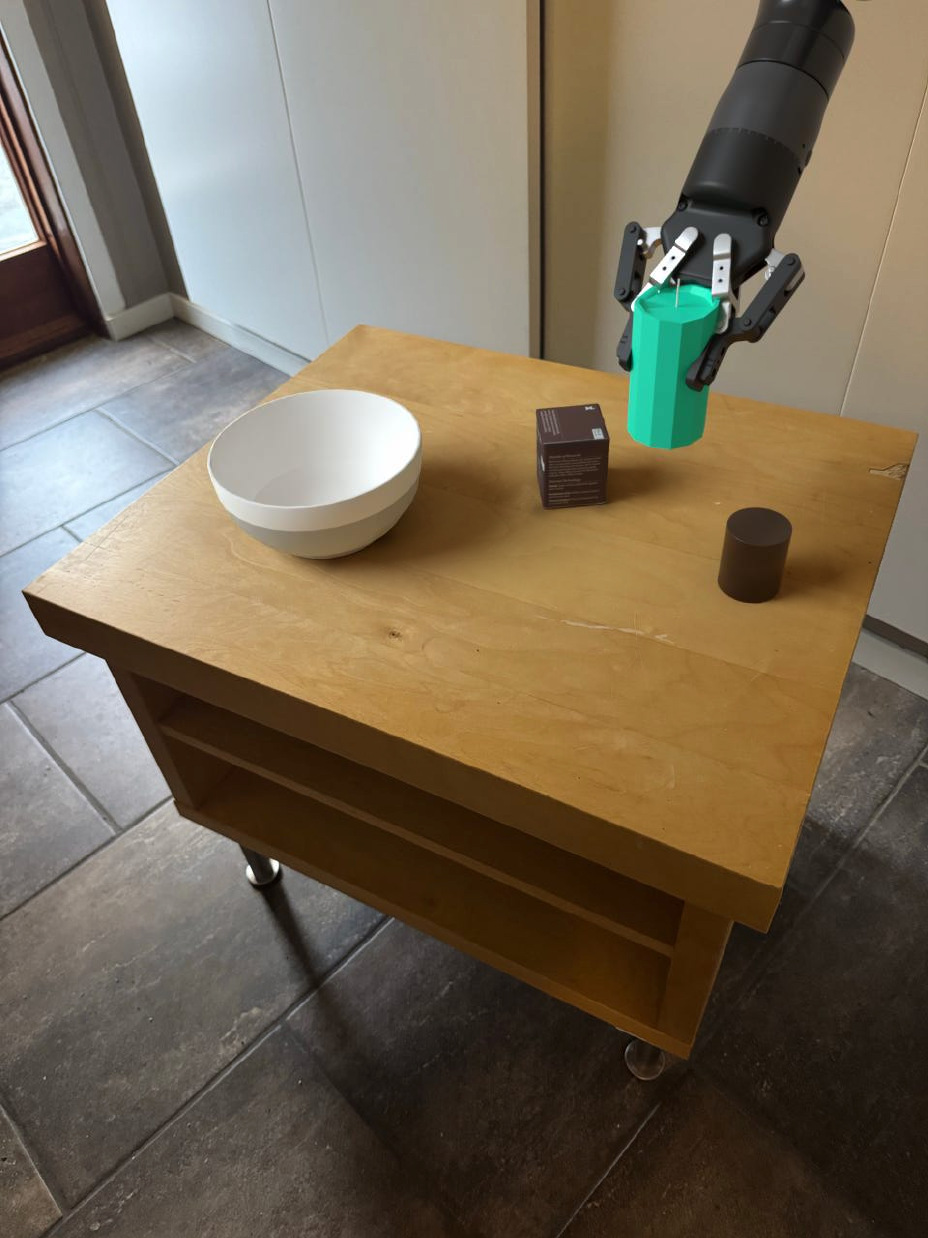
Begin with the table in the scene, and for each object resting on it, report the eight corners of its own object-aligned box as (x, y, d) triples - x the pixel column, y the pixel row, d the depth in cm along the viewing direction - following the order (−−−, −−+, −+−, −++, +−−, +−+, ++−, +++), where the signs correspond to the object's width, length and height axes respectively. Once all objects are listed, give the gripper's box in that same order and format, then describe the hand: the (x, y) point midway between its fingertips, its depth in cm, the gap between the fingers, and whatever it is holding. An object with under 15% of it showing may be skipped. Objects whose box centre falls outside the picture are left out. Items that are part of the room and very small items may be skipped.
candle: (716, 418, 74) (736, 269, 65) (686, 457, 70) (703, 304, 62) (646, 401, 76) (656, 255, 68) (614, 437, 73) (620, 289, 64)
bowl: (386, 605, 79) (372, 523, 73) (192, 570, 84) (164, 491, 78) (457, 479, 91) (451, 400, 85) (286, 455, 97) (268, 379, 91)
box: (536, 473, 91) (534, 407, 86) (597, 468, 91) (599, 401, 86) (543, 510, 87) (542, 443, 82) (607, 505, 87) (610, 437, 82)
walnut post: (792, 582, 77) (805, 524, 73) (756, 611, 75) (768, 554, 71) (741, 555, 80) (751, 499, 76) (705, 584, 78) (713, 527, 74)
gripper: (648, 111, 67) (556, 337, 69) (846, 137, 60) (738, 387, 62) (677, 166, 73) (593, 371, 75) (858, 195, 67) (761, 419, 68)
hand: (659, 377), depth 68 cm, fingers closed on candle, 5 cm apart
